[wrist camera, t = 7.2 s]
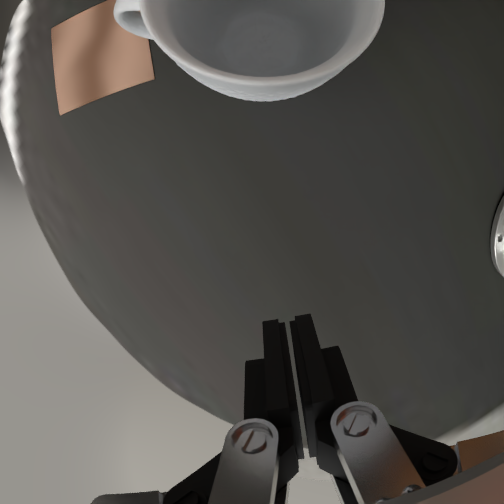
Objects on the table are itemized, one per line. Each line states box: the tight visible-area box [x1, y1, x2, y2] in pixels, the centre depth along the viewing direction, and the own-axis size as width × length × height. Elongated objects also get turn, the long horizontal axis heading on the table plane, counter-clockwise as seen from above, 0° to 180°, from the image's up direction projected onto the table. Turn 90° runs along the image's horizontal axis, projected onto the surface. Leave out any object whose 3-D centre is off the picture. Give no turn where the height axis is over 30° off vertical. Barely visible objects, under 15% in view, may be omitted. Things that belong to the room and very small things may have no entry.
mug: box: [113, 0, 385, 101], centre depth 15 cm, size 15×11×13 cm
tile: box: [51, 0, 155, 115], centre depth 21 cm, size 10×10×1 cm
